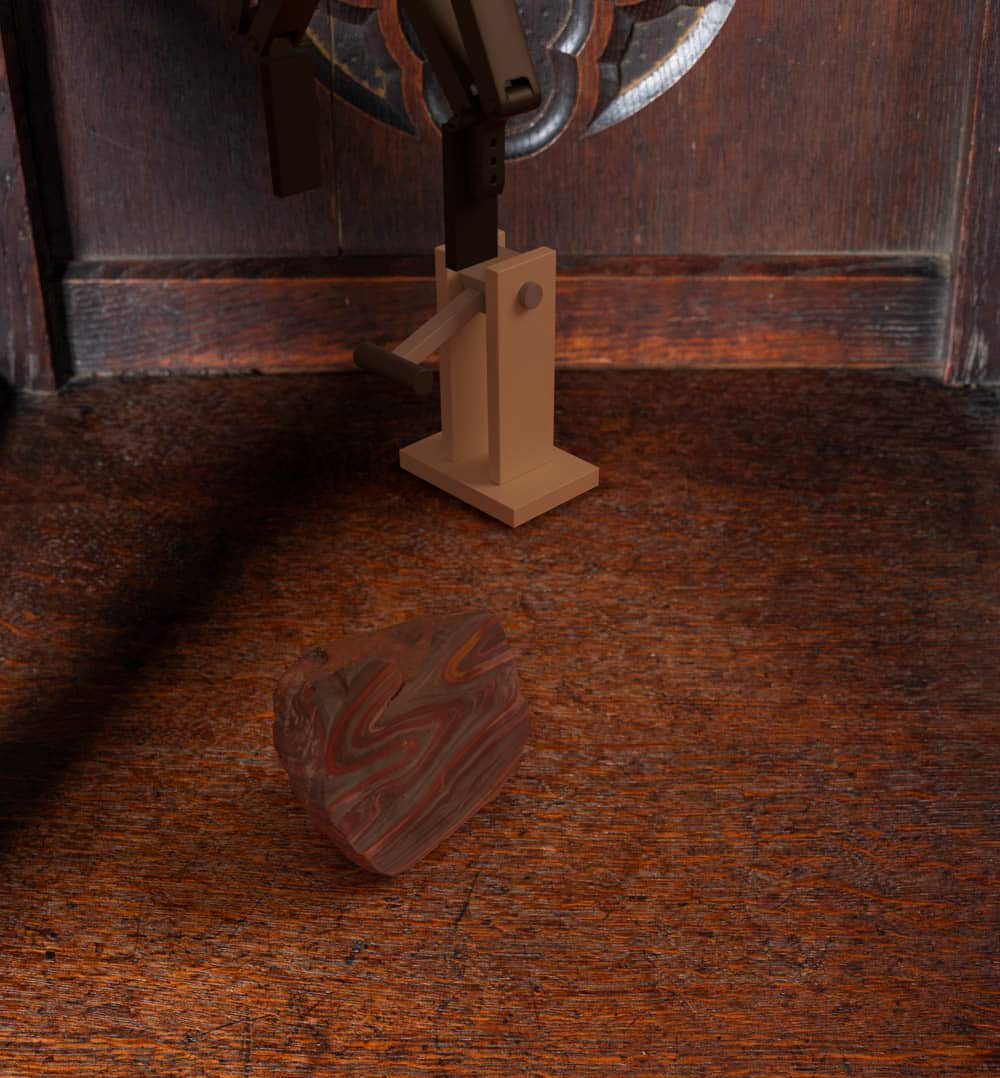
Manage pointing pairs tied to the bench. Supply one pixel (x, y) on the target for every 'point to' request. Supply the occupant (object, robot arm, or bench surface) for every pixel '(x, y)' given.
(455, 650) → the stone
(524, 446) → the bracket
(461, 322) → the lever
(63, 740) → the bench surface
